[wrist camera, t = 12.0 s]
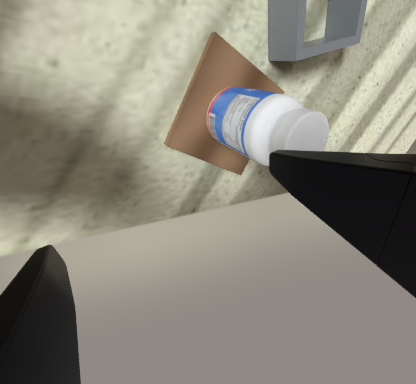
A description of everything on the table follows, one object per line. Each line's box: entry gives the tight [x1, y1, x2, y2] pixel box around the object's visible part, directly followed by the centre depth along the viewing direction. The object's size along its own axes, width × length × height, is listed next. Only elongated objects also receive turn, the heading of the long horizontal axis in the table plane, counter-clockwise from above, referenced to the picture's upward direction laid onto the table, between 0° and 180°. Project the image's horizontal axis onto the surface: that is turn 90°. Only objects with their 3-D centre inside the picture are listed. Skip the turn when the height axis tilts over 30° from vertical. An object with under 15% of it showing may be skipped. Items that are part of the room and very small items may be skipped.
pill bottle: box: [206, 87, 329, 166], centre depth 19 cm, size 6×5×10 cm
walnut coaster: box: [164, 32, 284, 175], centre depth 24 cm, size 10×10×1 cm
